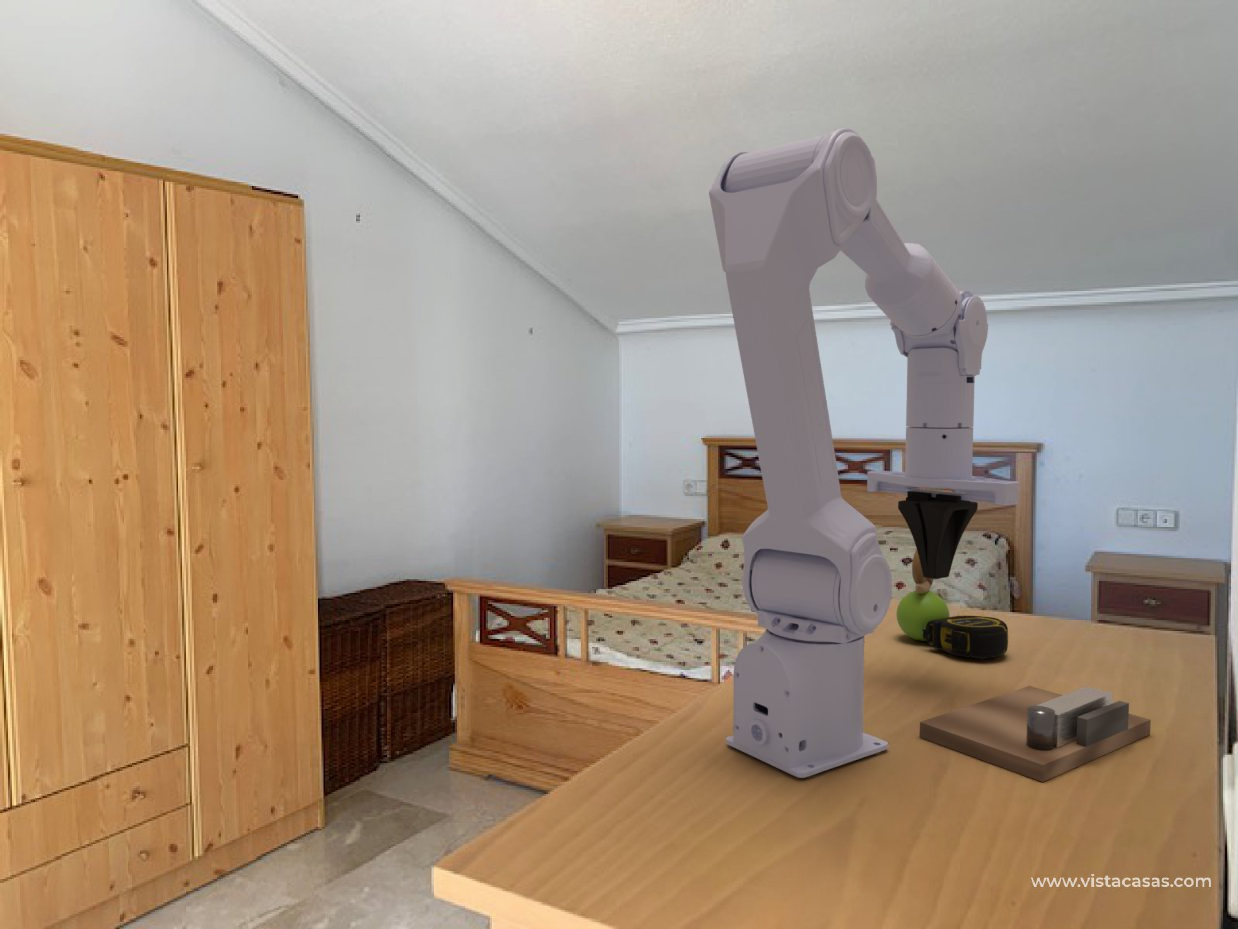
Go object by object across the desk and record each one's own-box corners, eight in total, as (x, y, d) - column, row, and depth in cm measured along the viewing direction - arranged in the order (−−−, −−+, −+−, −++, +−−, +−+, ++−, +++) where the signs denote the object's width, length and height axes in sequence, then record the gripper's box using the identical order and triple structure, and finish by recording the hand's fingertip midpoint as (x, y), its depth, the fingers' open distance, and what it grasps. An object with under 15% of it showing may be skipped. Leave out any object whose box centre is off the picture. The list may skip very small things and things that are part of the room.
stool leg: (1046, 752, 63) (1048, 716, 63) (1019, 744, 65) (1021, 708, 65) (1111, 723, 69) (1112, 690, 69) (1085, 716, 70) (1086, 683, 70)
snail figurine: (955, 635, 99) (958, 527, 98) (942, 649, 94) (945, 535, 93) (905, 629, 102) (907, 524, 101) (890, 642, 96) (892, 531, 95)
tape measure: (971, 643, 96) (972, 609, 96) (1023, 660, 90) (1024, 623, 90) (921, 651, 94) (922, 616, 93) (971, 669, 87) (972, 631, 87)
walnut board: (1042, 782, 61) (1044, 736, 61) (919, 737, 70) (920, 696, 69) (1150, 734, 70) (1151, 694, 70) (1028, 699, 78) (1030, 663, 78)
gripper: (1041, 428, 77) (1036, 584, 78) (901, 424, 89) (898, 560, 90) (992, 430, 73) (988, 595, 74) (853, 426, 85) (851, 568, 86)
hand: (936, 577), depth 82 cm, fingers closed
